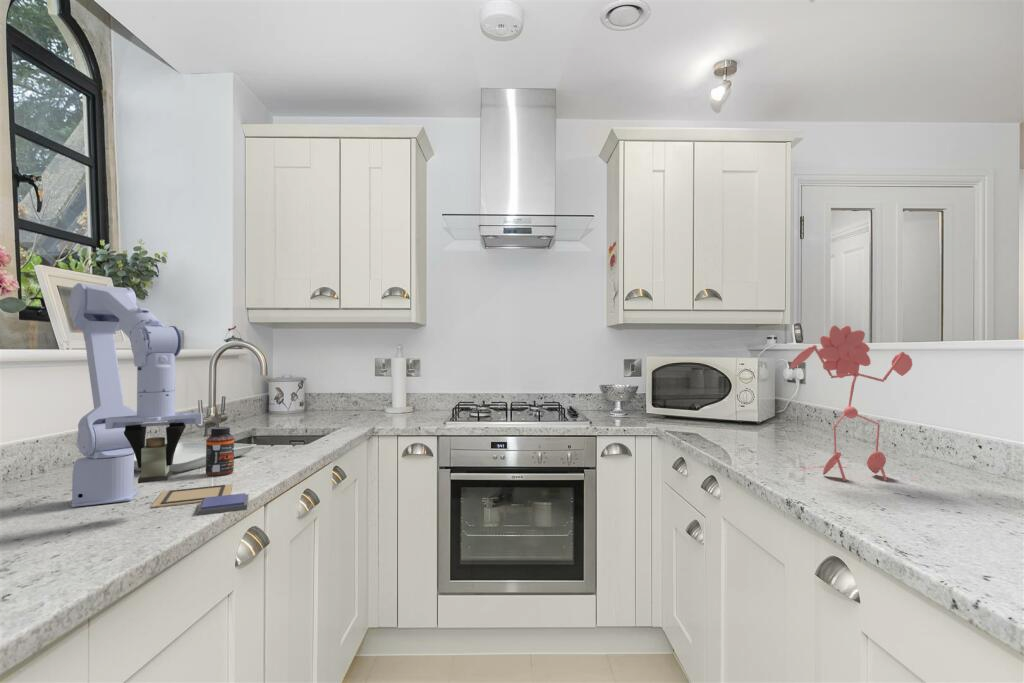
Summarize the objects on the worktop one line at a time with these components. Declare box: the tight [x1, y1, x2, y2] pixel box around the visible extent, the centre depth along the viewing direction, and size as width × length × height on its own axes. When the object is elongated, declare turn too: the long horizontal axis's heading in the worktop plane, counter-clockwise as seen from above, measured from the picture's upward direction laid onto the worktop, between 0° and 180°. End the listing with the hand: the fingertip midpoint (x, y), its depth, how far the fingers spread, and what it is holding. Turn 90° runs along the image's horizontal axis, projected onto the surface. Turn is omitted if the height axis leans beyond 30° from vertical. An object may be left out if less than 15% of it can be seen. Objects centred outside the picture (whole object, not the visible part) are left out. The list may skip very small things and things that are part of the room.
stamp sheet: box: [150, 483, 234, 509], centre depth 105 cm, size 13×12×1 cm
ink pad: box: [196, 492, 249, 516], centre depth 98 cm, size 8×8×1 cm
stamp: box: [137, 436, 173, 484], centre depth 93 cm, size 4×4×7 cm
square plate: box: [134, 441, 257, 473], centre depth 138 cm, size 27×27×4 cm
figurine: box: [788, 325, 916, 482], centre depth 121 cm, size 15×26×35 cm, turn 90°
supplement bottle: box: [205, 426, 235, 477], centre depth 125 cm, size 6×6×11 cm
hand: (155, 465), depth 94 cm, fingers closed on stamp, 4 cm apart
